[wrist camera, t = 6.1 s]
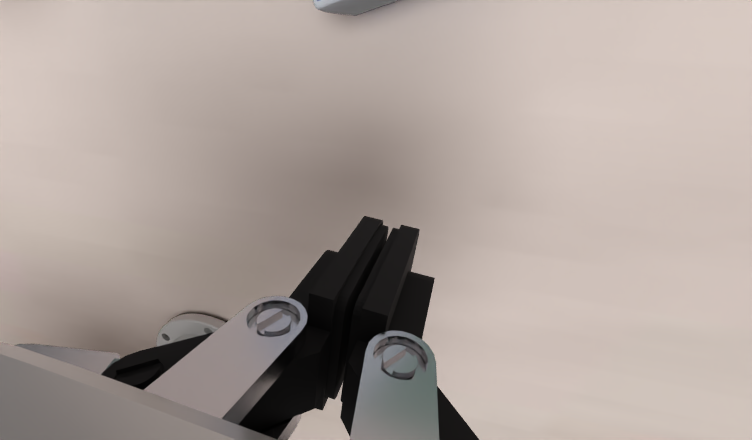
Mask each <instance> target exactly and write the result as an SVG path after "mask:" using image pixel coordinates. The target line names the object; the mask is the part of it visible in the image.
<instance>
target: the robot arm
mask: <svg viewBox="0 0 752 440" xmlns="http://www.w3.org/2000/svg"><path fill="white" fill-rule="evenodd" d="M387 234H388V226H384V225H383V220H379V219H375V218H371V217H367V216H364V217H363V219H362V220H361V221H360V223H359V224H358V226H357V227H356V228H355V230H354V231H353V232H352V234H351V235H350V237H349V238H348V239H347V241H346V242H345V244H344V245H343V246H342V248H341V249H340V251H339V252H334V251H330V250H327V251H326V252H324V254H323V255H322V256H321V257H320V259H319V260H318V261H317V263H316V264H315V265H314V266H313V268H312V269H311V270H310V271H309V273H308V274H307V275H306V277H305V278H304V279H303V280H302V282H301V283H300V284H299V285H298V287H297V288H296V289H295V291H294V292H293V293H292V294H291V296H290V297H289V298H288V297H283V296H271V297H264V298H261V299H258V300H255V301H254V302H252V303H250V304H249V305H247V306H246V307H245V308H244V309H242V310H241V311H240V312H239V313H237V314H236V315H235V316H234V317H233V318H231V319H230V320H229V321H228V322H225V321H222V320H220V319H217V318H214V317H211V316H207V315H203V314H191V313H189V314H183V315H179V316H177V317H175V318H173V319H172V320H170V321H169V322H168V323H167V324H166V325H164V326H163V327H162V329H161V330H160V331H159V333H158V337H157V347H154V348H150V349H146V350H142V351H138V352H136V353H133V354H130V355H127V356H125V357H123V358H122V359H120V356H119V353H113V352H104V351H94V350H85V349H76V348H67V347H58V346H49V345H39V344H18V345H11V344H7V343H3V342H0V440H288V439H289V437H290V436H291V434H292V433H293V431H294V430H295V428H296V427H297V425H298V423H299V421H300V419H301V414H302V413H304V412H307V411H309V410H312V409H314V408H317V409H319V410H323V408H324V406H325V403H326V401H327V399H328V397H329V398H332V399H335V398H336V397H337V394H338V392H339V390H340V387H341V385H342V383H343V387H342V395H341V402H343V403H342V410H341V419H342V421H343V423H344V425H345V427H346V430H347V432H348V434H349V436H350V440H479V439H478V438H477V436H476V435H475V434H474V432H473V431H472V430H471V429H470V427H469V426H468V425H467V423H466V422H465V421H464V420H463V418H462V417H461V416H460V415H459V413H458V412H457V411H456V409H455V408H454V407H453V406H452V404H451V403H450V402H449V400H448V399H447V398H446V397H445V395H444V394H443V393H442V392H441V390H440V389H439V388H438V386H437V376H436V361H435V357H434V354H433V352H432V350H431V349H430V347H429V346H428V345H427V344H426V343H425V342H424V341H423V340H422V336H423V331H424V326H425V321H426V317H427V312H428V307H429V302H430V298H431V293H432V288H433V284H434V278H433V277H429V276H425V275H421V274H417V273H414V272H411V268H412V264H413V259H414V254H415V250H416V245H417V240H418V236H419V229H416V228H412V227H408V226H404V225H401V227H400V229H396V228H393V229H392V231H391V233H390V235H389V237H388V239H387ZM386 240H387V241H386Z"/></svg>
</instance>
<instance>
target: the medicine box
mask: <svg viewBox="0 0 752 440" xmlns="http://www.w3.org/2000/svg"><path fill="white" fill-rule="evenodd" d="M395 1H398V0H313V2H314V5H315V7H316V8H317V9H318V10H321V11H324V12H328V13H335V14H344V15H353V16H355V15H358V14H361V13H364V12H367V11H369V10H372V9H375V8H378V7H381V6H384V5H387V4H389V3H392V2H395Z"/></svg>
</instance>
